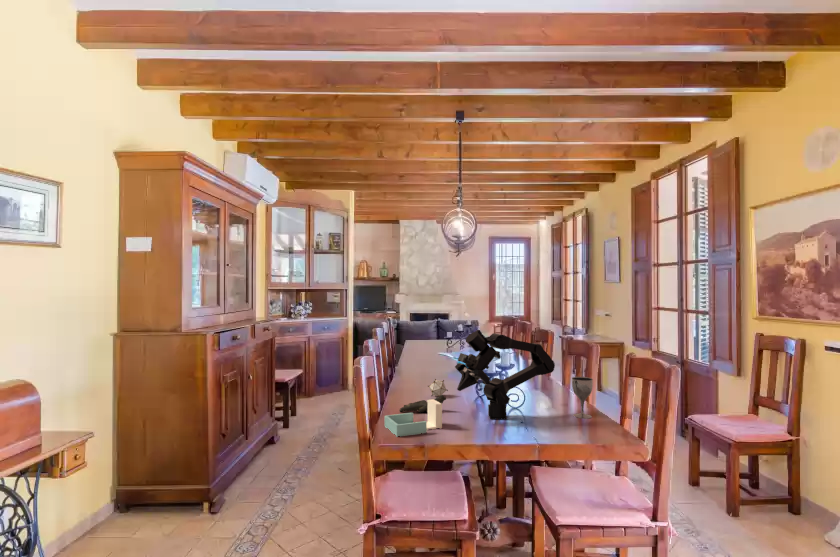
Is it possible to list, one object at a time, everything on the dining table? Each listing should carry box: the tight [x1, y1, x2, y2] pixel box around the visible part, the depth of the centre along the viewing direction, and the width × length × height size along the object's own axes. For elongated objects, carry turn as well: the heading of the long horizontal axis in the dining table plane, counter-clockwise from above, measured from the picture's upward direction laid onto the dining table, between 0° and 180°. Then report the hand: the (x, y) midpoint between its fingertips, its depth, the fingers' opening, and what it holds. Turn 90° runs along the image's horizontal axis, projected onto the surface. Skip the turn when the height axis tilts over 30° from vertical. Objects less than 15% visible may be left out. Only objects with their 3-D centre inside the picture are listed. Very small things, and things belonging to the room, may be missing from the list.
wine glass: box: [571, 376, 594, 419], centre depth 191 cm, size 8×8×15 cm
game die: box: [427, 378, 449, 397], centre depth 225 cm, size 9×8×10 cm
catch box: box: [384, 412, 428, 438], centre depth 174 cm, size 11×13×4 cm
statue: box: [398, 394, 447, 414], centre depth 199 cm, size 6×6×20 cm
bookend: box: [426, 398, 443, 431], centre depth 178 cm, size 10×8×9 cm
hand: (458, 390), depth 183 cm, fingers closed
